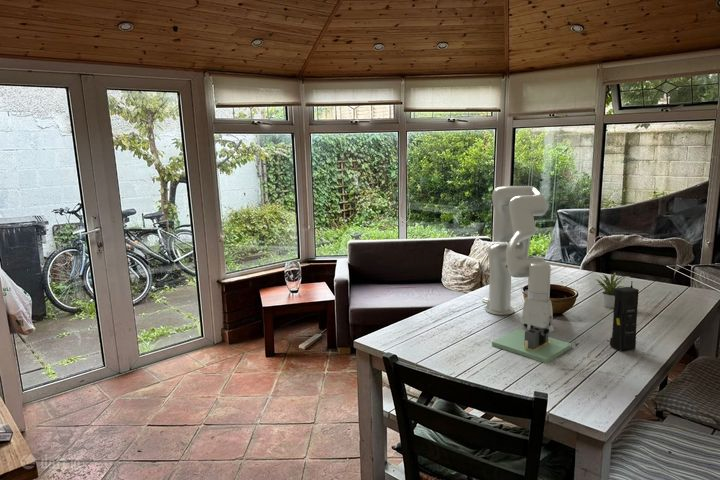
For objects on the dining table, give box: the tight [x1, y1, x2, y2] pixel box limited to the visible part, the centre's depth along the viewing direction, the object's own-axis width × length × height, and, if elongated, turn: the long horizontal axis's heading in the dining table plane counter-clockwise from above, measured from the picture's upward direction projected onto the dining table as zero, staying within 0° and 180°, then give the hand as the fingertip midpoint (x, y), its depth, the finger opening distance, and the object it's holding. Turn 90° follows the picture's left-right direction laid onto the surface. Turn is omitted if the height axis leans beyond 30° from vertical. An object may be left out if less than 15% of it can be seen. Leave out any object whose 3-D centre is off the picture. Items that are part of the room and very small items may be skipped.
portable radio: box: [609, 281, 640, 352], centre depth 175 cm, size 8×6×25 cm
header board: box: [491, 328, 573, 364], centre depth 180 cm, size 22×19×5 cm
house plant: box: [594, 272, 631, 309], centre depth 222 cm, size 14×14×16 cm
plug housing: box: [524, 326, 550, 350], centre depth 178 cm, size 4×11×6 cm, turn 131°
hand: (536, 342), depth 179 cm, fingers closed on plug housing, 3 cm apart
